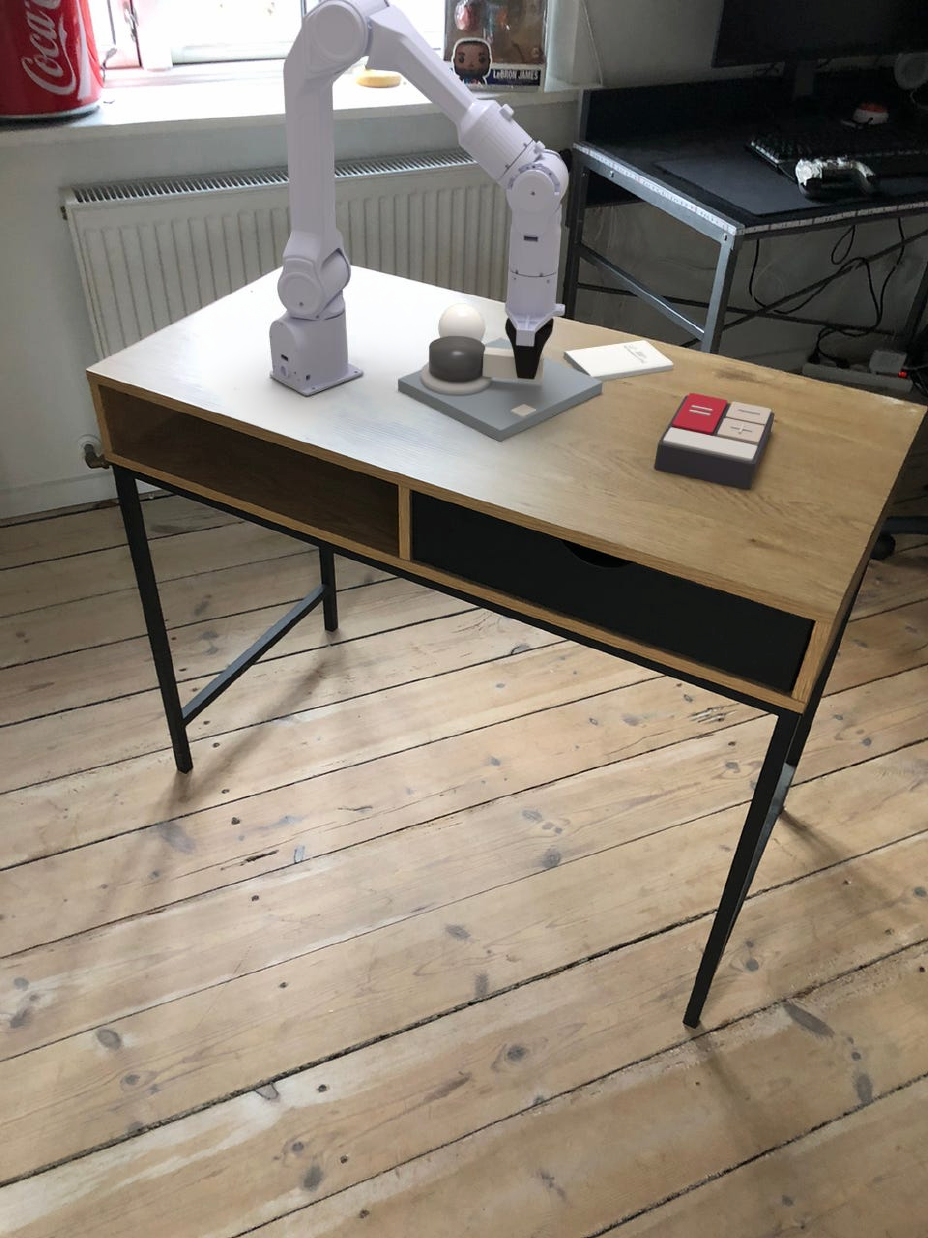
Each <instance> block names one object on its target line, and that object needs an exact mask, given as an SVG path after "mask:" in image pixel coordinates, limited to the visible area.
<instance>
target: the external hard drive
mask: <svg viewBox="0 0 928 1238" xmlns="http://www.w3.org/2000/svg"><path fill="white" fill-rule="evenodd" d="M563 359H564V360H565V361H567V363H569V365H571V366H572V368H573V369H574V370H577V371H579V372H581V373H584V374H586V375H588V376H591V377H593V378H595V379H598V380H600V381H602V382H605V381H611V380H617V379H624V378H629V377H630V378H631V377H637V376H643V375H648V374H654V373H655V374H656V373H661V372H666V371H667V372H668V371H672V369H673V370H674V363H673V361H672V360H670V359H669V358H668V357H667V356H666V355H664V354H663V353H661V352H660V351H659V350H658V349H656V348H655V347H654V346H653V345H652V344H650V343H649V342H648V341H647V340H645V339H643V340H637V341H630V342H620V343H615V344H608V345H601V346H595V347H594V346H593V347H588V348H587V347H586V348H580V349H572V350H566V351H564V352H563Z"/></svg>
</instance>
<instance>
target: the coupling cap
mask: <svg viewBox="0 0 928 1238" xmlns="http://www.w3.org/2000/svg"><path fill="white" fill-rule="evenodd" d="M484 344H485V343H483V342H482V341H481V342H480V341H478V340H476V339H474V338H470V337H465V336H446V337H441V338H440V337H438V338H436V339H434V340H432V342H430V344H429V345H428V362H429V372H430V374H431V375H433V376H434V377H435V378H438V379H440V380H443V381H448V382H468V381H472V380H475V379H478V378H479V377H481V376H482V375H483V376H485V377H495V378H504V379H513V380H523V381H532V382H541V383H542V381H543V377H544V368H545V357H546V352H542V353H541V356H540V360H539V365H538V369H537V373H536V376H535V378H534V380H533V379H520V378H517V374H516V367H515V359H514V352H513V350H510V349H500V348H491V347H486V349H485V346H484Z"/></svg>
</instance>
